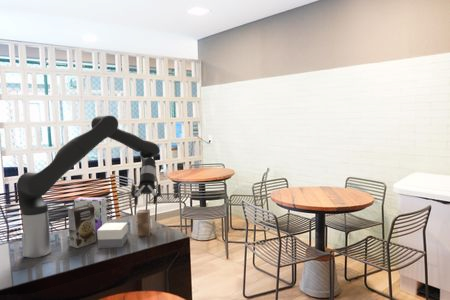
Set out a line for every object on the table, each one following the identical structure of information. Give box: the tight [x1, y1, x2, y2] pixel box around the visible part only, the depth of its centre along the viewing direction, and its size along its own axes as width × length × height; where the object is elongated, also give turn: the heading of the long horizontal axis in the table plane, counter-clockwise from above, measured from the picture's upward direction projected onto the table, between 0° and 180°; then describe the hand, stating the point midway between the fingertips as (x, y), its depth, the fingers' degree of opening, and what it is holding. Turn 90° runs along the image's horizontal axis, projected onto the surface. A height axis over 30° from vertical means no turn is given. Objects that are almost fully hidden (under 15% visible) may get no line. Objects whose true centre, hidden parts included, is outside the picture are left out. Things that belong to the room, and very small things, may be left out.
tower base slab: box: [97, 232, 128, 249], centre depth 154 cm, size 10×10×4 cm
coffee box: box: [67, 205, 97, 249], centre depth 153 cm, size 9×6×16 cm
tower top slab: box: [96, 222, 129, 241], centre depth 154 cm, size 10×10×4 cm
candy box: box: [73, 196, 108, 235], centre depth 169 cm, size 14×6×16 cm, turn 81°
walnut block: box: [136, 208, 152, 237], centre depth 164 cm, size 5×5×11 cm
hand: (145, 203), depth 171 cm, fingers open, 8 cm apart
